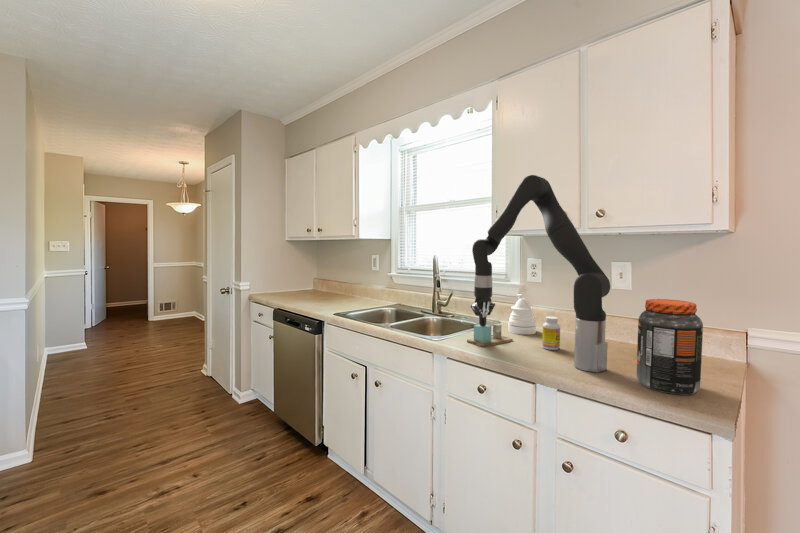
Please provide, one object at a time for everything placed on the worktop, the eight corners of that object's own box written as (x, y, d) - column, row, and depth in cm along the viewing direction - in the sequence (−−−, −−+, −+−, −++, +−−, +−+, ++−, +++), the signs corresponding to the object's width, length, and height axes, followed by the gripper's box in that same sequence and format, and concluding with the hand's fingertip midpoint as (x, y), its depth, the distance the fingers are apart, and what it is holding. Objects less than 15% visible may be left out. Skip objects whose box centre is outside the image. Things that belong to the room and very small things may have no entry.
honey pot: (502, 330, 183) (503, 294, 182) (519, 327, 190) (520, 292, 189) (524, 335, 173) (525, 297, 171) (541, 332, 180) (542, 295, 179)
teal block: (491, 341, 159) (491, 326, 159) (482, 342, 156) (482, 327, 156) (482, 338, 164) (482, 323, 163) (473, 340, 161) (474, 325, 160)
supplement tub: (653, 373, 123) (656, 296, 121) (710, 390, 109) (715, 303, 107) (625, 382, 115) (628, 300, 113) (682, 401, 101) (687, 307, 100)
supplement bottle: (557, 351, 147) (558, 319, 147) (540, 348, 151) (541, 317, 151) (561, 347, 153) (562, 317, 152) (544, 345, 157) (545, 315, 156)
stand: (512, 341, 163) (513, 325, 163) (483, 347, 153) (483, 330, 153) (495, 336, 172) (495, 321, 171) (466, 341, 162) (467, 326, 161)
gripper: (478, 287, 152) (477, 329, 153) (500, 285, 159) (500, 325, 160) (465, 285, 158) (465, 325, 159) (487, 284, 165) (487, 322, 166)
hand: (482, 325), depth 160 cm, fingers closed
